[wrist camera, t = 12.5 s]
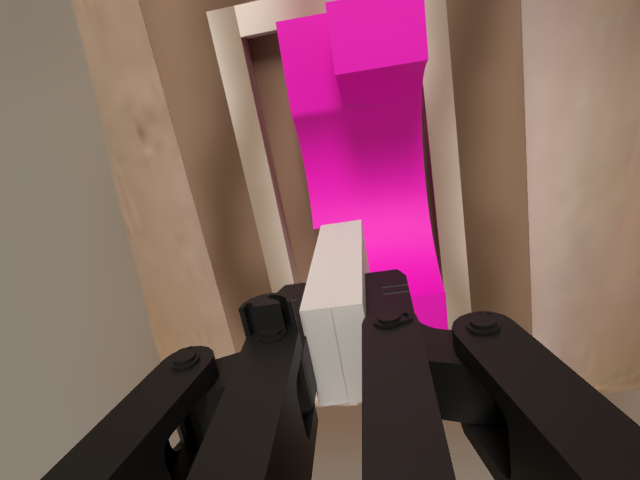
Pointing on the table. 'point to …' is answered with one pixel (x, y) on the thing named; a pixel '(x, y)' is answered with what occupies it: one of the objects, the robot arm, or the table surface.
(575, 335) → the table surface
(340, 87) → the toy block
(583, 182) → the table surface
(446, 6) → the locating board
